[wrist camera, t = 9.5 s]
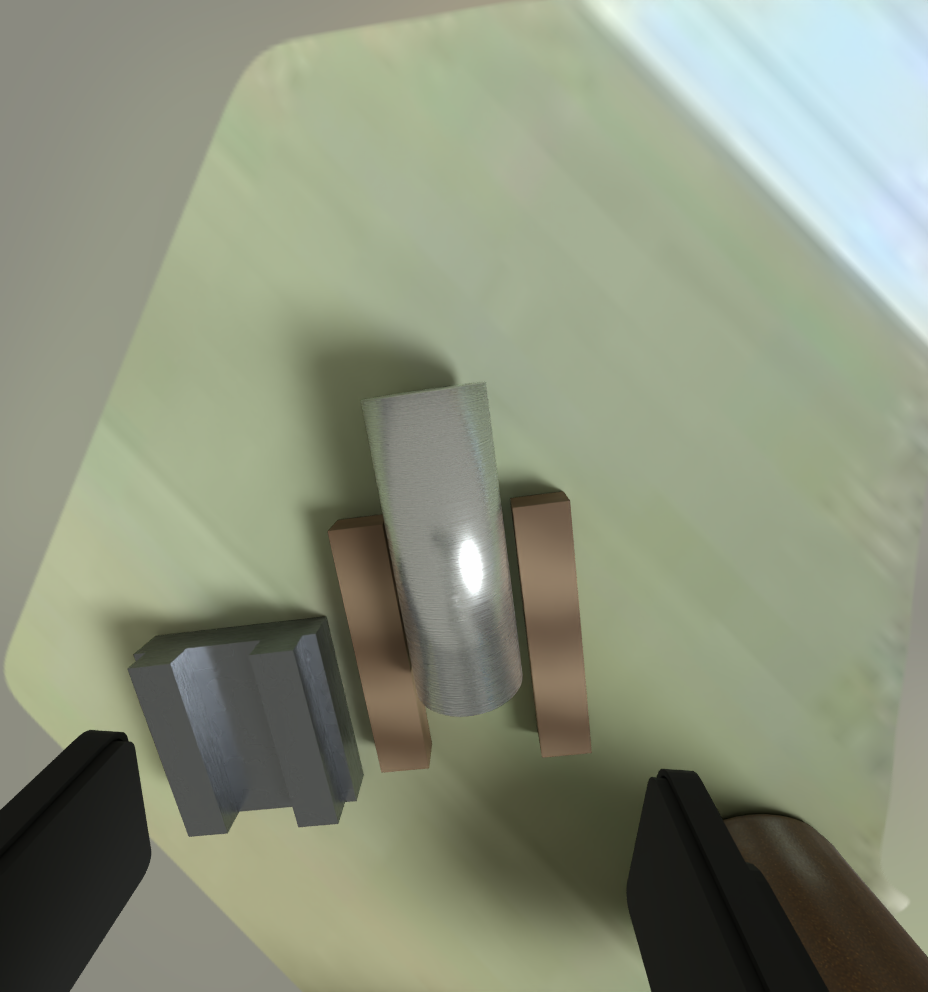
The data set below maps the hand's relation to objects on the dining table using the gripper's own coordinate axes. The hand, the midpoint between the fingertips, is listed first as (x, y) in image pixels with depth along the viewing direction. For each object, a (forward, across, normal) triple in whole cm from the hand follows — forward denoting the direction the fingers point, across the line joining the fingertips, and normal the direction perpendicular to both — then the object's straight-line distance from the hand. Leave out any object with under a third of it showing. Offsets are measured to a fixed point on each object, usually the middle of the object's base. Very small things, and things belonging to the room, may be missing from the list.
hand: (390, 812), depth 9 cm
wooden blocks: (+19, -2, +8) cm, 21 cm away
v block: (+19, +11, +14) cm, 26 cm away
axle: (+19, 0, +1) cm, 19 cm away
